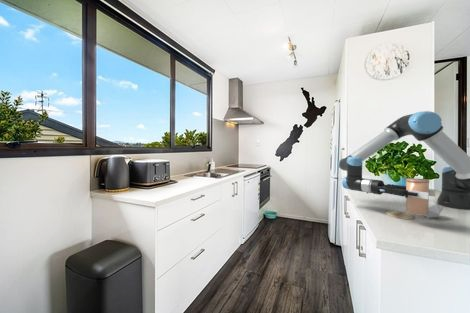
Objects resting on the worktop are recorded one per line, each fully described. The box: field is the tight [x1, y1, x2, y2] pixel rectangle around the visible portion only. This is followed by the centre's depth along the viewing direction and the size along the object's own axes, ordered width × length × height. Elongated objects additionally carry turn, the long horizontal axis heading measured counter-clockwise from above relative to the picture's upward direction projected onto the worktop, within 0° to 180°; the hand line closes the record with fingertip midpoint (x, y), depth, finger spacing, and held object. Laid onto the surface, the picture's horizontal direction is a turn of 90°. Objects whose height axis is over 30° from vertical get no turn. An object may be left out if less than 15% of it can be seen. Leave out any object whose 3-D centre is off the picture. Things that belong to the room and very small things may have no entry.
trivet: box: [385, 210, 415, 220], centre depth 100 cm, size 11×11×1 cm
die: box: [423, 200, 443, 219], centre depth 97 cm, size 8×9×10 cm
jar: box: [405, 177, 430, 216], centre depth 89 cm, size 8×8×15 cm
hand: (431, 194), depth 84 cm, fingers closed on jar, 7 cm apart
